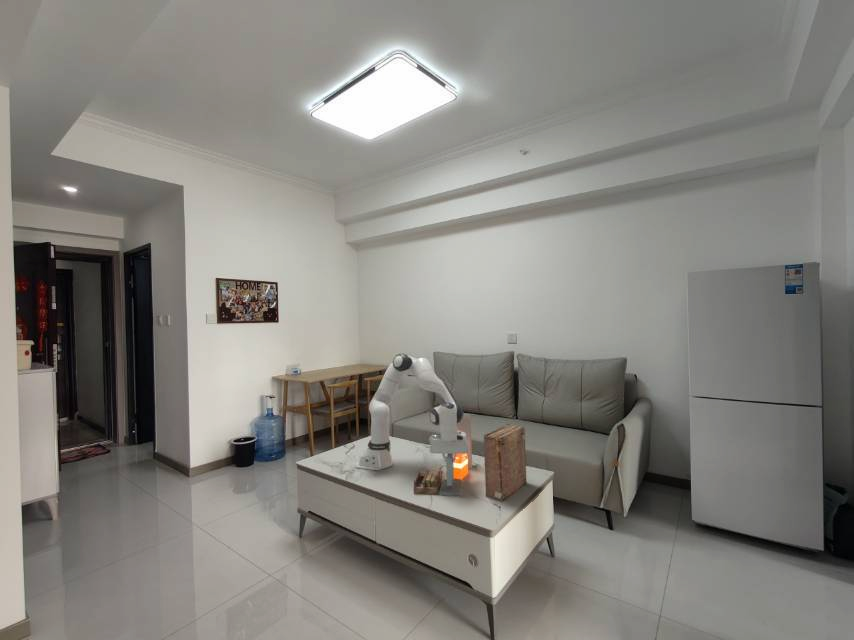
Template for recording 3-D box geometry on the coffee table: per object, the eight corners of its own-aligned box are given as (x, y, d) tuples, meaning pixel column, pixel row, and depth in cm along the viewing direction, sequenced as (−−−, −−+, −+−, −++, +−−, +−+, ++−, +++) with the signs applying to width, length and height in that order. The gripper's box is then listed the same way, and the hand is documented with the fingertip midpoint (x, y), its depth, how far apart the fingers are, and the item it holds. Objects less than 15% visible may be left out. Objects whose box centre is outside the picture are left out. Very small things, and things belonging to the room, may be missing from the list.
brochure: (472, 464, 233) (470, 414, 232) (472, 468, 227) (470, 416, 227) (448, 464, 234) (446, 414, 234) (447, 468, 229) (446, 416, 228)
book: (510, 478, 211) (509, 423, 210) (526, 483, 205) (524, 426, 204) (485, 496, 192) (483, 435, 191) (502, 501, 186) (500, 438, 185)
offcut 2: (431, 491, 199) (430, 480, 199) (433, 483, 208) (433, 473, 208) (434, 491, 199) (434, 480, 199) (437, 483, 208) (436, 473, 208)
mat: (438, 495, 194) (438, 494, 194) (442, 480, 212) (442, 479, 212) (458, 496, 193) (458, 494, 193) (461, 480, 211) (461, 479, 211)
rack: (413, 493, 197) (413, 481, 197) (419, 480, 213) (418, 469, 213) (437, 494, 195) (436, 482, 195) (440, 480, 211) (440, 469, 211)
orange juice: (468, 473, 220) (467, 438, 219) (461, 479, 212) (460, 442, 212) (455, 471, 224) (454, 436, 223) (448, 477, 216) (447, 441, 216)
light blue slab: (447, 485, 197) (446, 460, 197) (449, 475, 209) (448, 451, 208) (452, 485, 197) (451, 460, 196) (453, 475, 208) (453, 451, 208)
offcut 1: (426, 491, 199) (426, 480, 199) (429, 483, 209) (428, 472, 209) (430, 491, 199) (429, 480, 199) (433, 483, 209) (432, 472, 209)
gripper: (428, 436, 201) (429, 463, 201) (468, 437, 198) (469, 464, 198) (429, 432, 207) (430, 458, 207) (468, 433, 204) (469, 459, 204)
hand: (449, 461), depth 202 cm, fingers closed on light blue slab, 2 cm apart
